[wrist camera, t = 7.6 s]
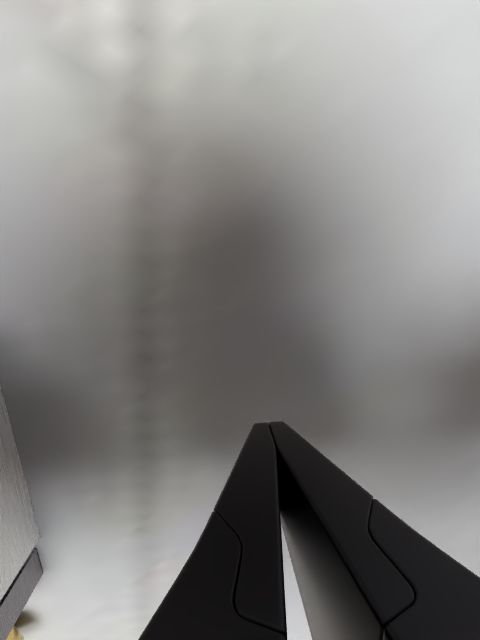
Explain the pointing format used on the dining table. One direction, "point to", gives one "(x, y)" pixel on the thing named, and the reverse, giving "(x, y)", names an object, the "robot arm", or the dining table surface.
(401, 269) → the dining table surface
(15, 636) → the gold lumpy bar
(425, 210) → the dining table surface
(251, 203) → the dining table surface
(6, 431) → the block
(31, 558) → the grey u-shaped frame
